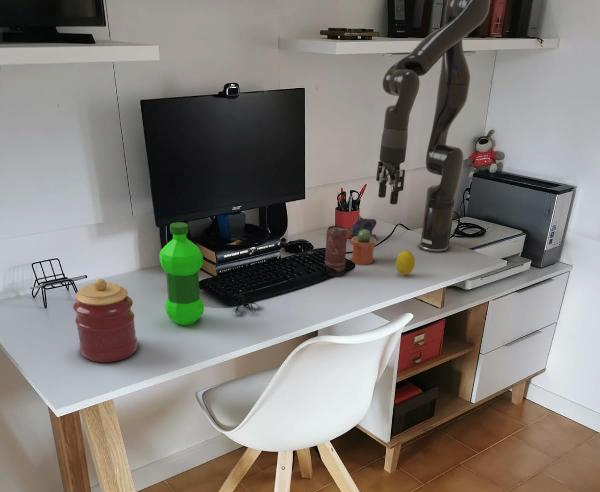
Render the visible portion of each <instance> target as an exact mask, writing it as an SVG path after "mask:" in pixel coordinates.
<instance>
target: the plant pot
mask: <svg viewBox="0 0 600 492" xmlns="http://www.w3.org/2000/svg"><path fill="white" fill-rule="evenodd" d="M351 245H352V257H351V262H353V263H354V264H357V265H370V264H372V263H373V262H374V250H375V249H374V248H375V247H376V245H377V238H376V239H375V238H372V237H371V234H370V232H369V231H368V230H365V229H364V230H361V231H360V232H359V234H358V236H356V237H351Z"/></svg>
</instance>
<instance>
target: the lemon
mask: <svg viewBox="0 0 600 492" xmlns="http://www.w3.org/2000/svg"><path fill="white" fill-rule="evenodd" d="M395 268H396V270H397V272H398V273H400V274H401V275H402V276H407V275H408V274H410V273H411V272H412V271H413V270H414V268H415V256H414V255H413V253H412V252H411V251H409V250H407V249H406V250H403V251H401V252H399V254H398V255H397V258H396V260H395Z"/></svg>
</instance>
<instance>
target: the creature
mask: <svg viewBox="0 0 600 492" xmlns="http://www.w3.org/2000/svg"><path fill="white" fill-rule="evenodd" d="M246 289H247V288H246V287H245V288H244V290H243V291H242V292H241V293H240V294H239V295H237V297H235V296H234V295H233V294H231V293H230V292H229V293H227V294H228V295H230V296H231V298H232V299H233V300H234V301H235V302H236V308H235V314H236V315H237V316H239V317H242V315H243V313H244V311H241V312H240V311H239V308H240V307H241V306H243V307H244V308H248V310H249V311H251V312H252V313H254V312H255V313H257V312H256V310H260V308H258V309H256V308H255V307H253V304H254V305H256V306H258V303H256V302H253V301H252V299H251V298H252V296H251V295H250V296H249V295H247V296H246V297H245V296H243V294H244V293H245V291H246ZM246 298H248V299H246ZM247 300H248V301H247ZM237 311H238V312H240V314H238V313H237Z"/></svg>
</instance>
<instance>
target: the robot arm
mask: <svg viewBox="0 0 600 492" xmlns="http://www.w3.org/2000/svg"><path fill="white" fill-rule="evenodd" d="M490 2H491V1H490V0H447V2H446V6H445V14H444V25H443V26H441V27H440V28H439V29H437V30H435V31H433V32H431V33H430V34H428V35H427V36H426V37H424V39H422V40H421V41H420V42H419V43H418V44H417V45H416V46H415V47H414V48H413V49H412V51H410V53H409V54H407V55H405V57H403V58H401V59H400V60H399V61H397V62H395V63H394V64H393V65H391V66H390V67H389V68H388V69H387V71H386V72H385V73H384V76H383V78H382V89H383V91H384V92H385V93H386V94H388V95H390V96H396V97H398V98H397V100H396V103H395V104H391V105H389V106H387V107H386V109H385V113H384V122H383V130H382V134H381V140H380V141H381V142H380V148H379V149H380V150H379V152H380V153H379V161H378V162H377V168H376V169H377V170H376V175H375V176H376V177H375V179H376V182H377V183H378V194H377V196H378V198H382V199H384V198H386V196H387V184H388V185H389V186H390V190H391V191H390V197H389V204H390V205H398V201H399V193H400V192H403V191H404V187H405V176H406V170H405V169H401V164H403V163H405V162H406V156H407V148H408V138H409V123H410V115H411V112H412V108H413V107H414V103H415V102H416V98H417V96H418V94H419V91H420V85H421V84H420V77H422V76H423V77H424V76H425V75H426V74H427V73H428V72H429V71H430V70H431V69H432V68H433V67H434V66H435V64H436V63H437V62H438V61H439V60H440V59H442V60H441V67H440V73H439V78H438V84H437V85H438V86H437V93H436V102H435V110H434V116H433V122H432V127H431V133H430V136H429V142H428V146H427V150H426V155H425V167H426V171H428V173H430V174H433V175H438V176H441V179H440V182H439V183H438V184H432V185H430V186H428V187H427V191H426V197H425V205H424V213H423V221H422V228H421V235H420V236H421V237H420V243H419V247H420V248H421V249H422V250H424V251H428V252H434V253H440V252H446V251H448V248H449V247H450V241H451V234H452V227H453V215H454V214H453V213H454V206H455V201H456V200H455V199H456V194H457V191H458V190H459V186H460V181H461V175H462V171H463V167H464V152H463V150H462V148H460V147H457V146H453V145H448V144H447V140H448V135H449V131H450V128H451V126H452V124H453V123H454V121H455V119H457V117H458V116H459V114H460V113H461V111H462V110H463V109H464V108H465V106H466V103H467V100H468V97H469V96H468V95H469V89H470V84H471V72H470V68H469V65H468V61H467V58H466V55H465V52H464V45H463V39H464V38H465V37H466V36H467V35H469V34H470V33H471V32H473V31H474V30H476V28H478V27H479V26H481V24H483V22H484V21H485V20H486V18H487V16H488V14H489V12H490V5H491V3H490Z"/></svg>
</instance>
